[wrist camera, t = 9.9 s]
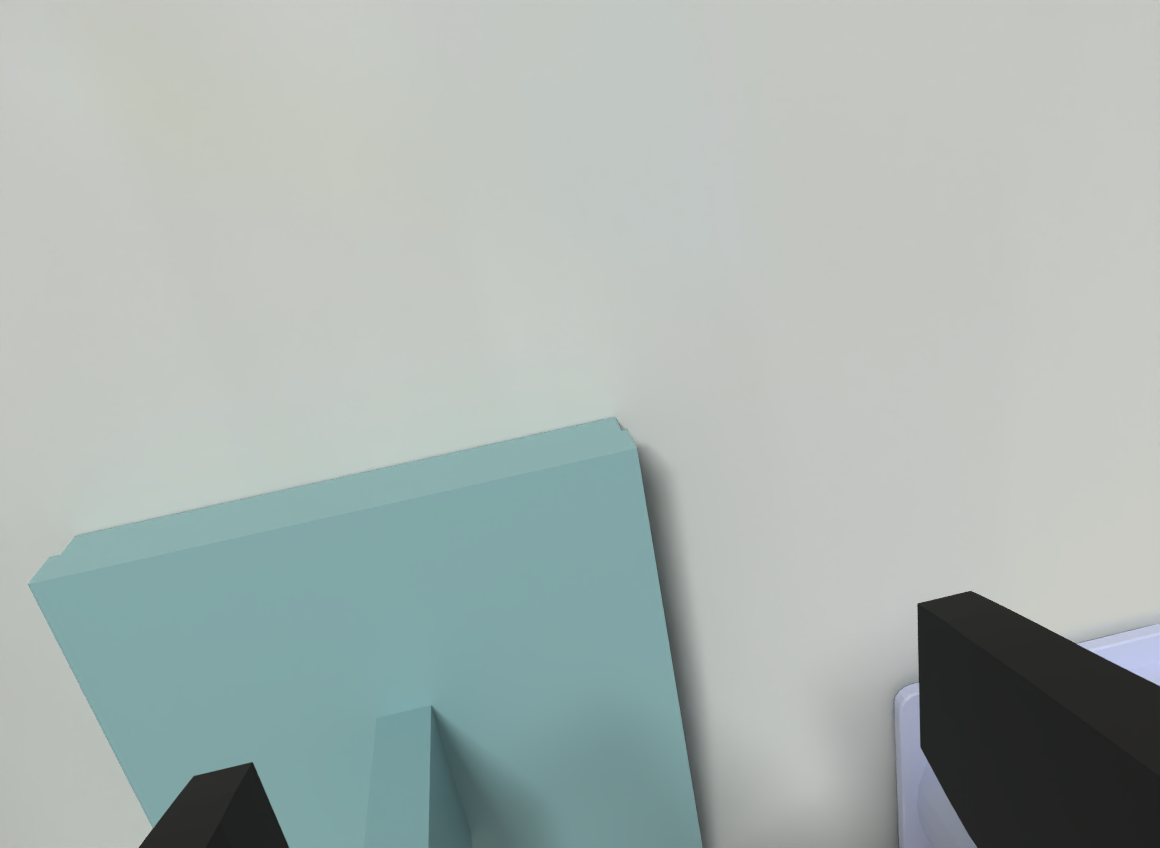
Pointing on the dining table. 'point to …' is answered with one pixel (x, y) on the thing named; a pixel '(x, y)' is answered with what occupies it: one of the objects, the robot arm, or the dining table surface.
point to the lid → (399, 651)
